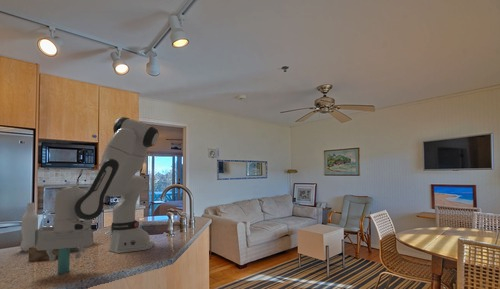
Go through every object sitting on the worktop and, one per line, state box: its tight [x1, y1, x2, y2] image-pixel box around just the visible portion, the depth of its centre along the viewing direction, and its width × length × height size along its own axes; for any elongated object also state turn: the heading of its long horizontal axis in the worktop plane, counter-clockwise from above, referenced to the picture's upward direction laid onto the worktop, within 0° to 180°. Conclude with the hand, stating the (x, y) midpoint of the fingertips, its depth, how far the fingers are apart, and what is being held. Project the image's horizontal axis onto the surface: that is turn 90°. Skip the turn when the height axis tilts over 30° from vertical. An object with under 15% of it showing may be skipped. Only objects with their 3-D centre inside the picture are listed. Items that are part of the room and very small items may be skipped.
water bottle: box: [19, 202, 39, 252], centre depth 145 cm, size 7×7×25 cm
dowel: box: [57, 248, 71, 275], centre depth 112 cm, size 4×4×12 cm
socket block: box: [27, 244, 58, 262], centre depth 133 cm, size 12×12×6 cm
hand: (65, 259), depth 112 cm, fingers open, 8 cm apart
